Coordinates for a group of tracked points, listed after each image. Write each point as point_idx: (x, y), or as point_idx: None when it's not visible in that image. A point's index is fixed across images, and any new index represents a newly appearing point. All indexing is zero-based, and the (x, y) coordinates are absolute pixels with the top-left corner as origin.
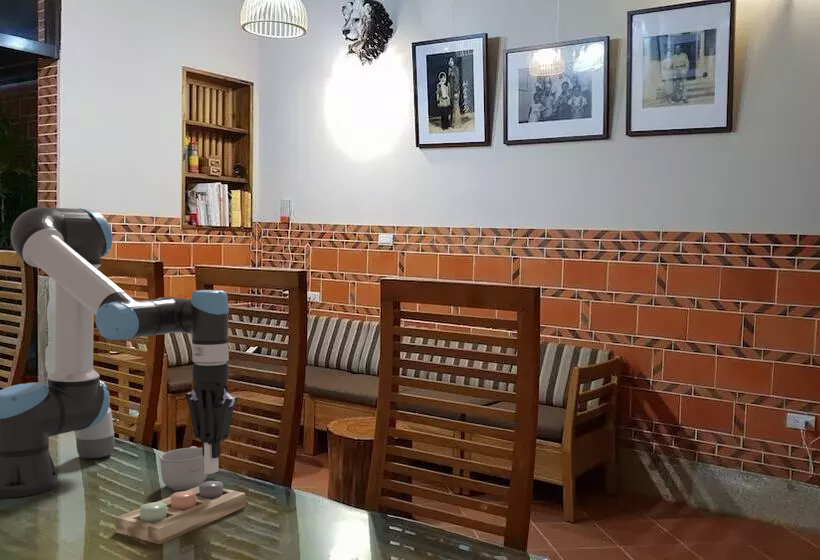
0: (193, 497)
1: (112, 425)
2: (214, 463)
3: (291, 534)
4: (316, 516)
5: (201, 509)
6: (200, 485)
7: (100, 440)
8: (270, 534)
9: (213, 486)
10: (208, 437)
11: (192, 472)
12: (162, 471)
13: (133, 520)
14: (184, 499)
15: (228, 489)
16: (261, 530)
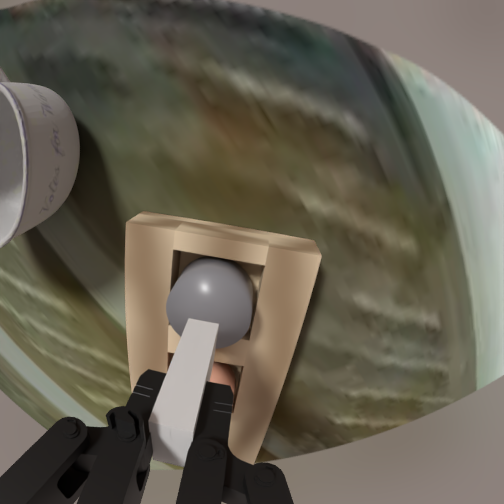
0: (232, 405)
1: None
2: (210, 368)
3: (464, 346)
4: (496, 244)
5: (268, 398)
6: (180, 332)
7: None
8: (430, 362)
9: (229, 329)
10: (144, 462)
11: (52, 198)
12: None
13: None
14: None
15: (242, 242)
16: (410, 355)
